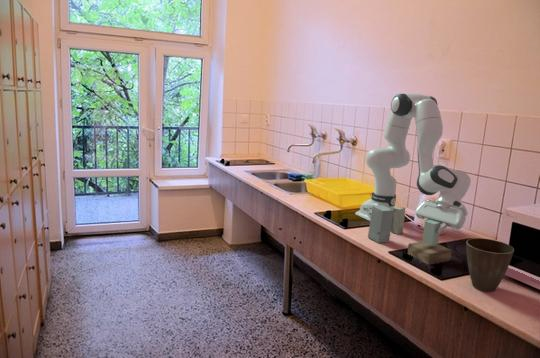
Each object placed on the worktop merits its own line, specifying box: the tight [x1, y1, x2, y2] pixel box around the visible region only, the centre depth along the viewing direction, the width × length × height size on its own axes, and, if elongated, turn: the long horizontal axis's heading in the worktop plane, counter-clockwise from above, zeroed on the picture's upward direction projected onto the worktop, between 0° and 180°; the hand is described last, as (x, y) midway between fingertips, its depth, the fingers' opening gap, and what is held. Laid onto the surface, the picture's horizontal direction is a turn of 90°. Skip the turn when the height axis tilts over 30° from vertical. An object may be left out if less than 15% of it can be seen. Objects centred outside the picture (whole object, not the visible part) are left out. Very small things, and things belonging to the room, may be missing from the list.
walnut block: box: [407, 241, 453, 265], centre depth 173 cm, size 12×12×5 cm
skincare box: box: [367, 205, 394, 244], centre depth 191 cm, size 8×7×16 cm
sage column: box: [421, 220, 441, 245], centre depth 172 cm, size 4×4×9 cm
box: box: [390, 205, 406, 235], centre depth 202 cm, size 5×4×13 cm
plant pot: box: [465, 237, 515, 293], centre depth 147 cm, size 15×15×16 cm
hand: (430, 230), depth 171 cm, fingers closed on sage column, 4 cm apart
